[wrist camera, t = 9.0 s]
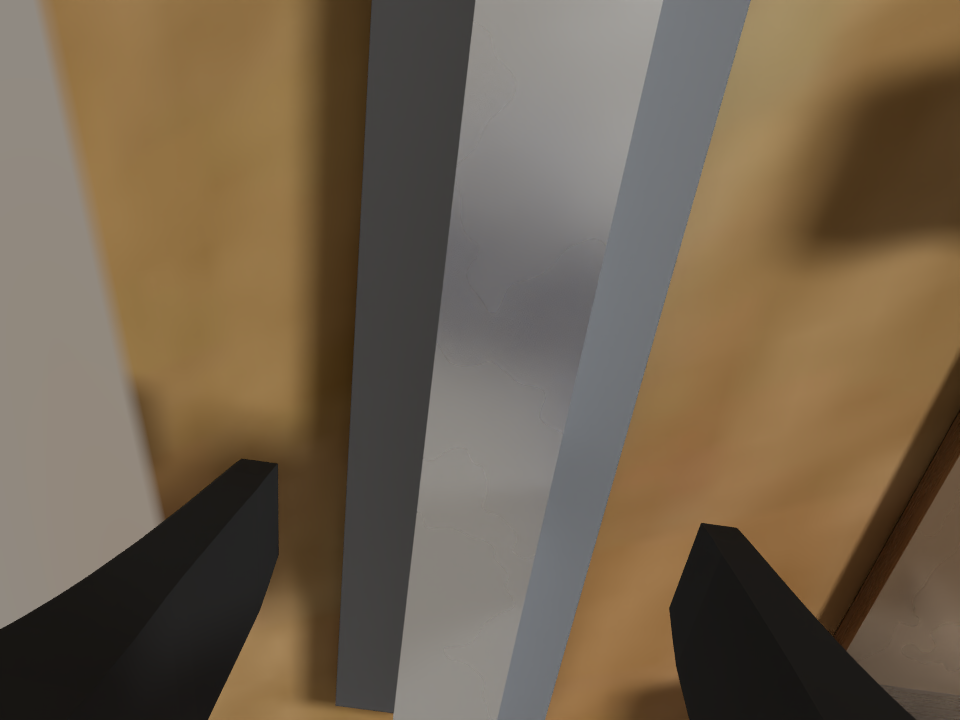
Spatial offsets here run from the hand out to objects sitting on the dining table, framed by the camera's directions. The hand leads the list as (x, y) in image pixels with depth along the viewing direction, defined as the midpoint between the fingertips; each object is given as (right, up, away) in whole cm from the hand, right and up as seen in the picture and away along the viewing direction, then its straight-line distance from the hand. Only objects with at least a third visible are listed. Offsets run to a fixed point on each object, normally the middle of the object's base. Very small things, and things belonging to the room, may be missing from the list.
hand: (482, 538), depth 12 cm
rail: (0, +2, +3) cm, 4 cm away
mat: (0, +2, +4) cm, 4 cm away
